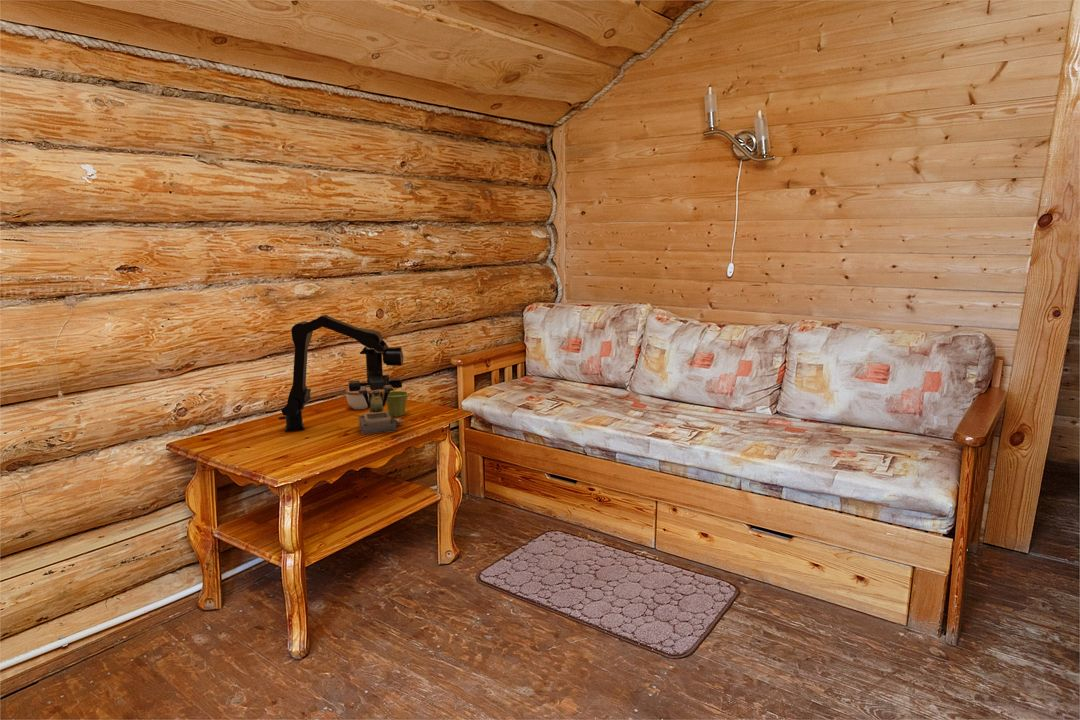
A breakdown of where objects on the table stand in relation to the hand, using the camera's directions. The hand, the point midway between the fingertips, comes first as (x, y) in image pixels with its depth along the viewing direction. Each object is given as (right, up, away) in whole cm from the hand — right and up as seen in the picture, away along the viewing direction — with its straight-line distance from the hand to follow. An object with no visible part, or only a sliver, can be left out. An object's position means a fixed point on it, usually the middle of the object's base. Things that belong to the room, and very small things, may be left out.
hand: (376, 407), depth 237 cm
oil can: (0, -1, 0) cm, 1 cm away
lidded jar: (-14, -3, +29) cm, 32 cm away
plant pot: (+4, -5, +18) cm, 19 cm away
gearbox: (+2, -8, +2) cm, 8 cm away
